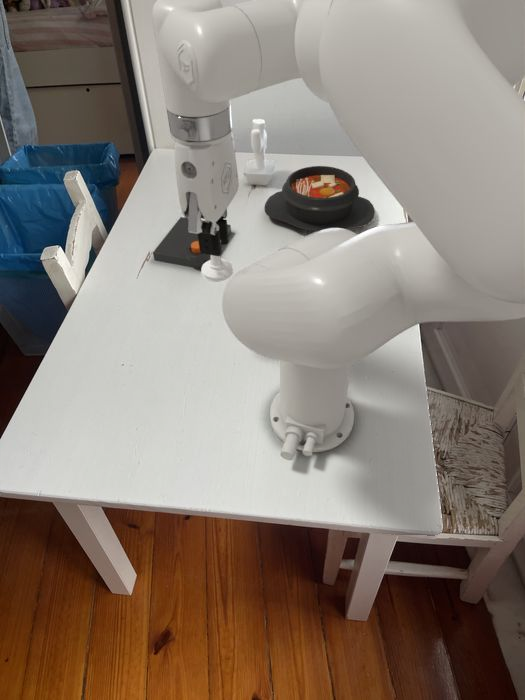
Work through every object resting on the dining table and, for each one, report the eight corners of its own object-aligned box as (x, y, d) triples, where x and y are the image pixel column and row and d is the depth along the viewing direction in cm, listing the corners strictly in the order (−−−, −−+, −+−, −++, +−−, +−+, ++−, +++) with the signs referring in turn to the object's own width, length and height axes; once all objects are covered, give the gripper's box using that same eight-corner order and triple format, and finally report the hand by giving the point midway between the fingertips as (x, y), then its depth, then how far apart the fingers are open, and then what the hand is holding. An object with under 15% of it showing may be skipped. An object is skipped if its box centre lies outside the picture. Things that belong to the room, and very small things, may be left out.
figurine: (277, 172, 126) (276, 112, 115) (271, 190, 120) (270, 129, 109) (249, 171, 127) (246, 111, 116) (243, 189, 121) (239, 128, 110)
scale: (207, 272, 98) (205, 258, 96) (152, 263, 101) (149, 249, 98) (232, 233, 108) (231, 219, 105) (182, 225, 110) (179, 211, 108)
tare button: (201, 254, 97) (200, 249, 96) (189, 252, 98) (188, 247, 97) (206, 247, 99) (205, 242, 98) (194, 245, 99) (193, 240, 98)
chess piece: (198, 265, 76) (189, 209, 68) (228, 259, 77) (223, 202, 69) (205, 284, 73) (197, 227, 65) (236, 277, 74) (232, 220, 66)
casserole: (256, 232, 107) (255, 198, 101) (273, 190, 120) (272, 157, 113) (370, 244, 103) (376, 209, 97) (375, 199, 116) (381, 165, 109)
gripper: (204, 154, 52) (219, 286, 66) (250, 98, 62) (255, 222, 76) (141, 146, 54) (168, 276, 67) (196, 92, 64) (210, 215, 77)
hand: (214, 247), depth 71 cm, fingers closed on chess piece
